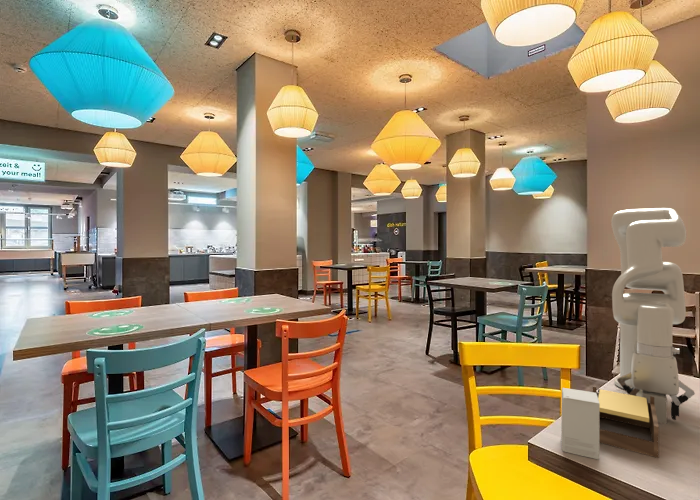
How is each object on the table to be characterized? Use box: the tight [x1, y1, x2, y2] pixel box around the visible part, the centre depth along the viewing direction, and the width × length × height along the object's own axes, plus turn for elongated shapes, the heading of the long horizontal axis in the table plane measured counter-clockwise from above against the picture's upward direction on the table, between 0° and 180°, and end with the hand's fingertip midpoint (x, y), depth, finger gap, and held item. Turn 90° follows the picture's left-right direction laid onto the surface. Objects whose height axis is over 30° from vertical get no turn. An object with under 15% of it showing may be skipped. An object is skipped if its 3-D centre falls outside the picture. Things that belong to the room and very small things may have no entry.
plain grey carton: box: [642, 390, 668, 425], centre depth 102 cm, size 5×5×7 cm
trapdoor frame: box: [592, 385, 660, 459], centre depth 94 cm, size 17×13×8 cm
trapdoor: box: [597, 388, 649, 422], centre depth 94 cm, size 14×11×1 cm
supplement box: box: [560, 387, 600, 460], centre depth 87 cm, size 7×7×13 cm
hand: (653, 413), depth 103 cm, fingers open, 7 cm apart
